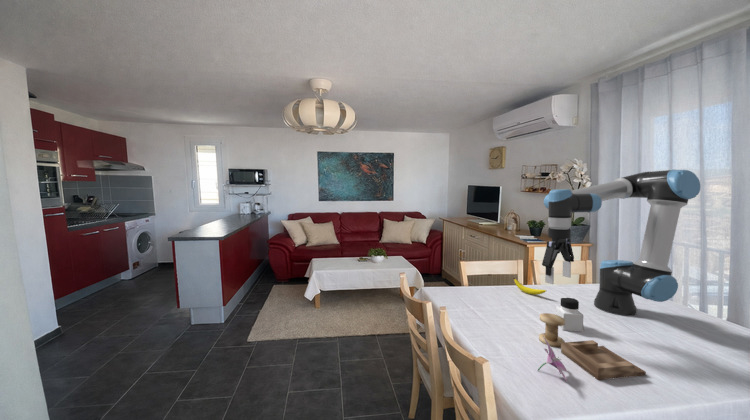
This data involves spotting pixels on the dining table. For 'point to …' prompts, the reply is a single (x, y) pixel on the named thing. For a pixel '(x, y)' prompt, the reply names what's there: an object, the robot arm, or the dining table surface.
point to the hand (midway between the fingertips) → (558, 279)
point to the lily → (554, 360)
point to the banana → (528, 290)
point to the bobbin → (551, 329)
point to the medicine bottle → (570, 314)
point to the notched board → (599, 360)
